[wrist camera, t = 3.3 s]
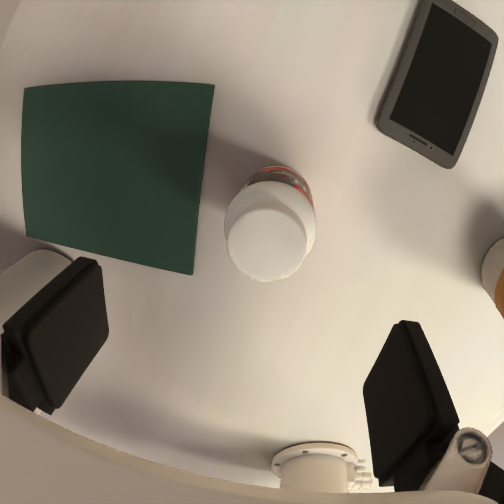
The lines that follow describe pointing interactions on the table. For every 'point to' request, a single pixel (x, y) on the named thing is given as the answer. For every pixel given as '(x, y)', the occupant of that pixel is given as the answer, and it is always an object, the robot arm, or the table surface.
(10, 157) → the table surface
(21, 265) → the cylinder vase
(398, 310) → the table surface
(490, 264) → the coffee cup
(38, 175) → the right mat
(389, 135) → the cell phone
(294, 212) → the pill bottle
